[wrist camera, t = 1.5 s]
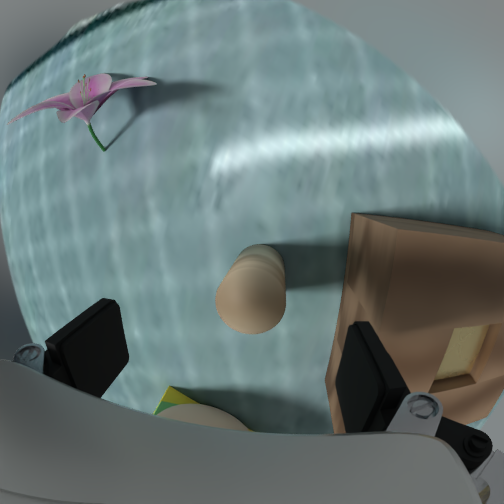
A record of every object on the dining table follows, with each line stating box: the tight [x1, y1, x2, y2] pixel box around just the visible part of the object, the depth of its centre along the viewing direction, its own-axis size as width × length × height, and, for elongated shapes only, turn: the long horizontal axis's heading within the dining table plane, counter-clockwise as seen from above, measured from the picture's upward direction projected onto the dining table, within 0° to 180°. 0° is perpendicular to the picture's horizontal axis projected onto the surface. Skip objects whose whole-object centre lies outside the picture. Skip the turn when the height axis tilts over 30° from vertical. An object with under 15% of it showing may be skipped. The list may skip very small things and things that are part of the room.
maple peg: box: [215, 244, 286, 334], centre depth 19 cm, size 4×4×7 cm
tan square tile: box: [434, 325, 489, 380], centre depth 14 cm, size 4×4×1 cm
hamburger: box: [153, 386, 254, 432], centre depth 21 cm, size 12×8×12 cm
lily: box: [7, 73, 157, 151], centre depth 17 cm, size 12×12×10 cm
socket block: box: [325, 213, 504, 434], centre depth 17 cm, size 16×16×9 cm
